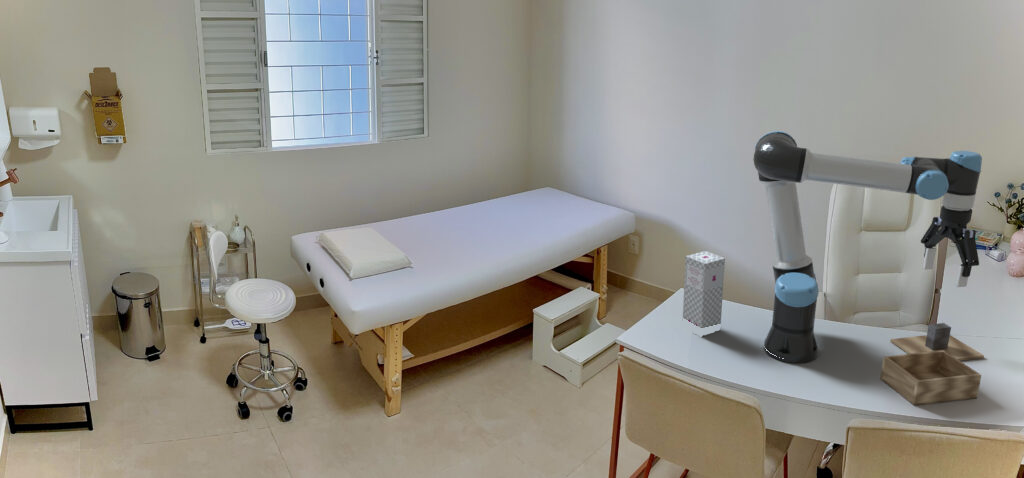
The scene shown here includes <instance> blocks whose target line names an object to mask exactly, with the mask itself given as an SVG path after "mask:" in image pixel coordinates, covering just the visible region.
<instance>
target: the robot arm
mask: <svg viewBox="0 0 1024 478" xmlns="http://www.w3.org/2000/svg"><path fill="white" fill-rule="evenodd" d="M754 148H755V149H754V152H753V153H754V154H753V158H752V160H753V165H754V168H755V169H756V171H757V176H758V180H759V182H760V183H762V184H763V185H764V186H765V192H766V197H767V204H768V210H769V211H768V213H769V217H770V224H771V229H772V237H773V243H774V249H775V251H774V252H775V256H776V257H775V260H773V262H772V270H773V276H774V299H773V312H772V324H771V326H770V329H769V331H768V333H767V335H766V337H765V339H764V344H763V350H764V352H765V354H767V355H768V356H770V357H771V358H773V359H774V360H775V359H776V360H778V361H781V362H785V363H791V364H804V363H809V362H812V361H814V360H815V359H817V357H818V350H819V347H818V343H817V340H816V336H815V331H814V329H815V328H814V327H815V319H816V312H817V311H816V310H817V303H818V302H817V301H818V296H819V283H818V282H817V278H816V277H817V276H816V273H815V270H814V264H813V258H812V257H811V256H809V255H808V254H807V253H806V245H805V237H804V229H803V224H802V217H801V210H800V204H799V202H800V201H799V196H798V191H797V189H798V188H797V184H798V183H803V182H805V181H813V182H820V183H828V184H835V185H843V186H850V187H856V188H857V187H858V188H864V189H865V188H867V189H873V190H880V191H881V190H882V191H889V192H895V193H896V192H897V193H903V194H904V193H905V194H909V195H910V194H911V195H917V196H919V197H920V198H923V199H925V200H929V201H933V200H934V201H935V200H938V199H940V198H942V201H941V205H942V206H941V207H940V211H939V212H940V213H939V216H934V217H933V218H932V221H931V223H930V226H929V227H928V229H927V230H925V231H926V232H925V233H924V234H923V236H922V238H921V240H920V243H921V244H923V245H924V254H923V258H924V260H923V265H922V270H933V269H934V265H935V264H934V263H935V259H936V253H937V248H936V247H937V245H938V244H939V243H940V242H941V241H943V239H945V238H946V239H949V240H951V241H952V243H953V244H954V245H955V246H956V249H957V252H958V255H959V259H960V261H961V263H960V264H959V266H958V267H959V268H958V272H957V278H956V282H955V287H957V288H964V287H965V288H966V287H967V285H968V280H969V278H970V276H971V271H972V267H976V266H980V259H979V253H978V247H977V242H976V241H977V240H976V233H977V231H976V230H975V229H967V228H968V227H967V225H969V223H970V222H971V220H972V216H973V208H974V206H975V205H974V204H975V199H976V195H977V190H978V189H977V188H978V184H979V179H980V175H981V172H982V170H981V169H982V164H983V163H982V162H983V156H982V155H981V154H980V153H978V152H975V151H966V150H955V151H953V152H951V154H950V156H949V158H948V157H947V158H937V157H924V156H923V157H920V156H919V157H918V156H904V157H903V158H901V160H900V163H897V162H889V161H879V160H872V159H863V158H858V157H856V158H855V157H848V156H840V155H831V154H824V153H823V154H822V153H815V152H811V151H810V150H809V149H808V148H806V147H805V148H804V147H798V144H797V142H796V139H794V138H793V136H792V135H790V134H789V133H787V132H784V131H780V130H776V131H775V130H774V131H769V132H767V133H766V134H764V135H762V137H760V138H759V139H758V141H757V142H756V145H755V147H754ZM764 346H765V348H766V349H767V350H768V351H769V352H770V353H772V354H774V355H776V356H777V357H776V356H774V355H772V354H770V353H769V352H768V351H766V349H765V348H764ZM779 357H780V358H779ZM782 358H784V359H782Z"/></svg>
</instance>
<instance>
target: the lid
mask: <svg viewBox="0 0 1024 478" xmlns="http://www.w3.org/2000/svg"><path fill="white" fill-rule="evenodd" d="M951 330H952V327H951V326H950V325H948V324H946V323H945V322H940V323H931V324H928V327H927V331H926V332H927V333H926V334H925V335H924V334H923V335H917V336H915V335H914V336H907V337H900V338H890V343H892V344H893V345H895V347H898V348H899V349H901V350H902V351H903V352H905V354H913V353H922V352H931V351H941V350H944V351H945V352H947V353H948V354H950V355H951V356H953V357H955V358H956V359H958V360H959V361H961V362H962V361H967V360H978V359H984V357H985V355H984V354H982V353H981V352H980V351H978V350H976V349H974V348H973V347H971V346H970V345H968V344H966V343H964V342H963V341H961V340H959V339H957V337H955V336H953V335H951Z"/></svg>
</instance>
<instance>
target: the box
mask: <svg viewBox="0 0 1024 478" xmlns="http://www.w3.org/2000/svg"><path fill="white" fill-rule="evenodd" d="M684 261H685V262H684V265H685V266H684V280H683V281H684V283H683V284H684V285H683V306H682V319H683V318H684V319H686V320H688V321H689V322H691V323H693V324H694V325H696V326H698V327H700V328H705V327H709V326H713V325H717V324H721V323H722V313H723V312H722V309H723V308H722V307H723V296H724V279H725V267H726V266H725V264H726V258H725V257H722V256H720V255H718V254H715V253H713V252H710V251H706V250H704V251H699V252H696V253H692V254H688V255H685V260H684ZM721 325H722V324H721Z"/></svg>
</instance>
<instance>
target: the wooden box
mask: <svg viewBox="0 0 1024 478" xmlns="http://www.w3.org/2000/svg"><path fill="white" fill-rule="evenodd" d="M981 379H982V374H981V373H979V372H978V371H977V370H974V369H973V368H971V367H970V366H968V364H965V363H963V362H962V361H959V360H958V359H956V358H955V357H953V356H951V355H950V354H948V353H947V352H945V351H944V350H941V351H931V352H922V353H913V354H908V353H904V354H896V355H886V356H883V358H882V367H881V371H880V380H882V381H883V382H884V383H885V384H886V385H887V386H889V388H891V389H892V390H894V391H895V393H897V394H899V395H900V396H901V397H903V399H905V400H906V401H907V402H909V403H910V404H912V405H913V406H922V405H924V406H925V405H932V404H941V403H948V402H956V401H958V402H959V401H966V400H975V399H978V394H979V389H980V385H981Z"/></svg>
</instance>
